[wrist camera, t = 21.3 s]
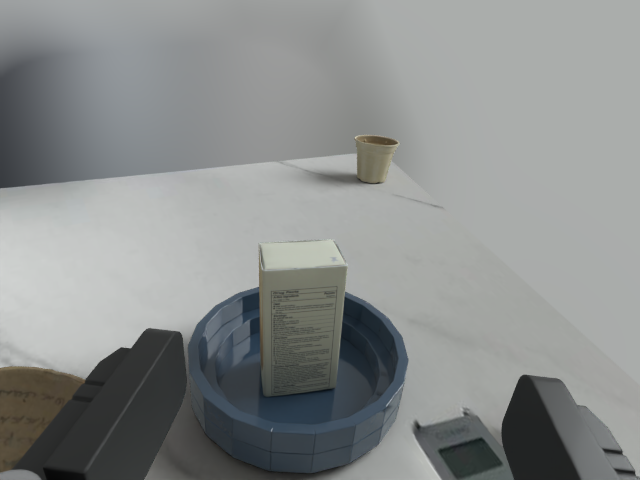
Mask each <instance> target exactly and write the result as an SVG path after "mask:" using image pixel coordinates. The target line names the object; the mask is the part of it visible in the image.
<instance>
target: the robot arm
mask: <svg viewBox="0 0 640 480" xmlns="http://www.w3.org/2000/svg"><path fill="white" fill-rule="evenodd" d="M186 383H187V377H186V367H185V357H184V347H183V338H182V334H181V333H180V332H177V331H168V330H160V329H152V328H148V329H146V330H145V331H144V332H143V333H142V335H141V336H140V337H139V339H138V340H137V341H136V343H135V344H134V345H133V347H132V348H131V349H130V348H122V347H121V348H120V349H118V350H117V351H115V352H114V353H112V354H111V355H109V356H108V357H106V358H105V359H103V360H102V361H100V362H99V364H98V365H97V366H96V367H95V369H94V370H93V371H92V372H91V373H90V375H89V376H88V377H87V378H86V380H85V383H84V384H81V386H80V387H79V388H78V389H77V391H76V392H75V393H74V394H73V396H72V399H71V400H68V402H67V403H66V404H65V405H64V407H63V408H62V409H61V410H60V411H59V413H58V414H57V415H56V416H55V418H54V419H53V420H52V421H51V422H50V424H49V425H48V426H47V427H46V429H45V430H44V431H43V432H42V434H41V435H40V436H39V437H38V438H37V440H36V441H35V442H34V443H33V445H32V446H31V447H30V448H29V449H28V451H27V452H26V453H25V454H24V456H23V457H22V458H21V459H20V461H19V462H18V463H17V464H16V465H15V466H14V467H13V468H12V469H11V470H9V471H4V472H1V473H0V480H144V479H145V477H146V475H147V473H148V471H149V469H150V467H151V465H152V463H153V461H154V459H155V457H156V455H157V453H158V451H159V449H160V447H161V445H162V443H163V441H164V439H165V437H166V435H167V433H168V431H169V428H170V426H171V424H172V422H173V420H174V418H175V416H176V414H177V412H178V410H179V408H180V406H181V404H182V402H183V399H184V395H185V391H186ZM502 443H503V448H504V451H505V454H506V457H507V460H508V463H509V466H510V469H511V471H512V474H513V477H514V480H640V478H639V477H637V476H636V475H635V470H634V468H633V467H632V465H631V464H630V462H629V460H628V459H627V457H626V456H623V454H622V452H623V451H622V449H621V448H620V446H619V444H618V443H617V441H616V440H615V438H614V437H613V435H612V433H611V432H610V430H609V429H608V427H607V426H606V425H605V424H604V423H603V422H602V421H600V420H599V419H598V418H597V417H596V416H595V415H594V414H593V413H592V412H591V411H590V410H589V409H588V408H587V407H586V406H580V405H577V404H576V403H575V401H574V399H573V398H572V396H571V394H570V392H569V391H568V389H567V387H566V386H565V384H564V383H563V382H562V381H561V380H560V379H556V378H548V377H539V376H531V375H522V376H521V377H520V379H519V380H518V383H517V385H516V388H515V391H514V393H513V396H512V398H511V401H510V403H509V406H508V409H507V411H506V414H505V416H504V419H503V423H502Z"/></svg>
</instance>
